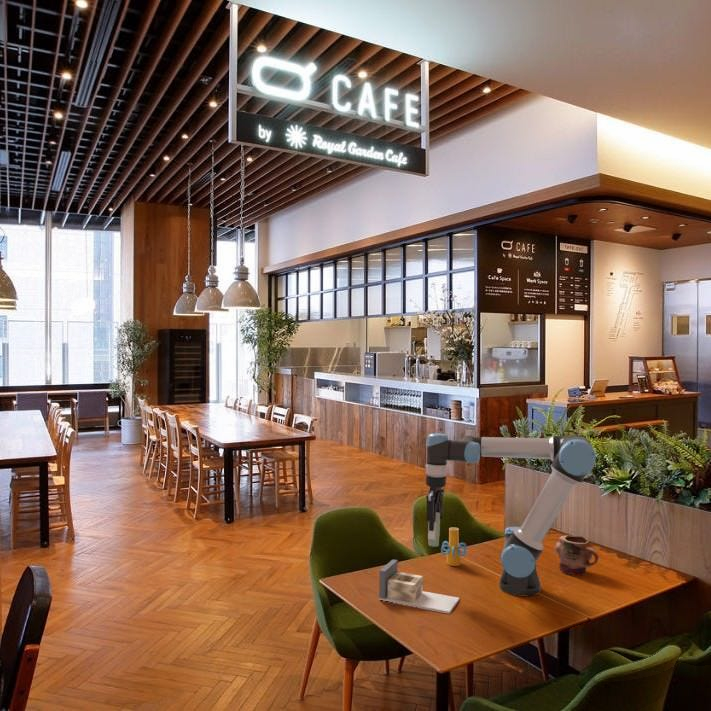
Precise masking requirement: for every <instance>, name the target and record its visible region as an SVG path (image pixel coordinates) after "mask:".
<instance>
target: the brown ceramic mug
mask: <svg viewBox="0 0 711 711" xmlns="http://www.w3.org/2000/svg"><path fill="white" fill-rule="evenodd" d="M590 545H591V544H590V542H589V540H588V539H587V538H585V537H583V536H580V535H578V536H577V535H567V534H566V535H562V536H560V537H559V538H558V541H557V542H556V543H555V547H554V552H555V553H556V554H557V555H558V556H559V563H558V564H559V569H560V571H561V572H562V573H563V572H564V574H565V573H567V574H566V575H568V574H570V575H569V576H571V575H575V577H577V575H578V576H582V575H584V574H585V573H586V571H587V569H589V568H591V567H592V566H594V565H595V564H597V563H598V561H599V555H598V553H597V551H596V550H595V549H593V548H592V547H591V546H590ZM592 557H594V562H590V561H591V559H592Z"/></svg>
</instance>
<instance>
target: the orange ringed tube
mask: <svg viewBox="0 0 711 711" xmlns="http://www.w3.org/2000/svg"><path fill="white" fill-rule="evenodd" d="M459 530H460V528H458V527H449V528H448V541H447V540H444V541H443V542H442V544H441V548H440V552H441V554H442V555H444V556H446V562H445V563H446V565H447V566H450V567H459V566H461V564H462V563H461V562H462V557H465V556H466V554H467V544H466V542H459V540H460V538H459V536H460V535H459V533H460V532H459ZM446 547H447V549H446ZM461 548H462V550H461ZM444 551H445V552H444Z"/></svg>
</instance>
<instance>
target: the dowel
mask: <svg viewBox="0 0 711 711" xmlns="http://www.w3.org/2000/svg"><path fill="white" fill-rule="evenodd" d="M435 522H436V539H435V540H433V539H428V538H427V540H428V541H427V545H428V546H429V547H439V546H440V544H439V543H440V533H439V527H441V518H440V513H439V512H436V518H435Z"/></svg>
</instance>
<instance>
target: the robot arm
mask: <svg viewBox="0 0 711 711" xmlns="http://www.w3.org/2000/svg"><path fill="white" fill-rule="evenodd" d="M480 457H481V458H482V457H488V458H489V457H490V458H516V459H542V460H545V459H546V460H550V461H552V463H551V464H550V468H551V473H550V475H549V477H548V479H547V480H546V482H545V484H544V486H543V487H542V490H541V491H540V493H539V494H538V497H537V498H536V500H535V502H534V503H533V506H532V507H531V509H530V510H529V512H528V514H527V516H526V517H525V519H524V521H523V522H522V525H521V526H508V527H506V528H505V530H504V545H503V548H502V551H501V554H500V562H501V566H502V568H503V569H502V572H501V575H500V577H499V588H500V590H502V591H503V592H504V591H505V593H506V592H507V594H509V593H511V594H510V595H513V594H516V595H515V596H518V595H533V596H535V595H534V594H537V593H539V592H540V591H541V590H542V589H541V588H542V587H541V586H542V584H541V582H540V578H539V575H538V573H537V561H538V559H539V557H540V556H541V554H542V552H543V550H544V548H545V547H544V545H543V541H544V540H545V538H546V536H547V535H548V533H549V531H550V529H551V528H552V525H553V524H554V523H555V520H556V518H557V517H558V516H559V514H560V513H561V510H562V508H563V507H564V506H565V503H566V501H567V499H568V498H569V496H570V494H571V492H572V491H573V490H574V487H575V486H576V485H578V484H580V485H581V484H582V483H583V481H584V479H585V478H586V476H587V475H588V474H589V473H590V472H591V471H592V469H593V468H594V466H595V464H596V462H597V459H596V458H597V456H596V452H595V448H594V447H593V445H592V443H591V442H590V441H589V440H588V438H586V437H585V436H582V435H578V434H577V435H576V434H569V435H551V437H549V438H548V437H547V438H546V437H545V438H544V437H542V438H539V437H536V438H535V437H501V436H500V437H496V436H495V437H492V436H490V437H488V436H474V435H465V436H463V437H462V438H461V439H460V440H452V439H449V438H448V435H447V434H446V433H439V432H438V433H437V432H433V433H432V432H431V433H429V434H428V436H427V442H426V464H425V465H424V467H425V468H426V469H425V473H426V475H425V485H426V486H427V487H429V491H428V494H426V499H425V500H426V520H425V521H426V522H428V526H427V527H428V528H427V530H428V532H427V540H428V539H433V540H435V539H436V522H435V518H436V512H439V513H440V520H441V519H443V506H444V505H443V504H444V493H445V489H444V487H446V484H447V477H446V475H447V469H448V468H447V467H448V466H447V461H450V462H451V461H452V462H460V463H468V464H470V463H475V464H476V463H478V462H480ZM440 527H441V526H440ZM440 527H439V534H440V532H441V530H440ZM540 593H541V592H540ZM540 593H539V594H540ZM537 595H538V594H537Z"/></svg>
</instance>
